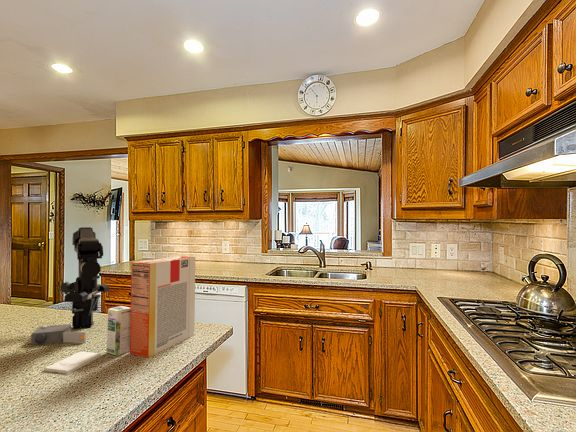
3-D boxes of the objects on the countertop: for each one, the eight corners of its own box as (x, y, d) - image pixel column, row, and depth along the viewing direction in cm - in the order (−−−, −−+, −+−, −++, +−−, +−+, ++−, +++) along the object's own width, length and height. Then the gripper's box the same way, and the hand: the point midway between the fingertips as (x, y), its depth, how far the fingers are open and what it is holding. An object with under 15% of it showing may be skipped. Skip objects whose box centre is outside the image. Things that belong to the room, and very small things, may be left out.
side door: (84, 342, 117) (84, 332, 117) (59, 342, 116) (59, 332, 116) (86, 341, 118) (86, 331, 118) (62, 341, 118) (62, 331, 118)
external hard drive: (100, 358, 105) (67, 376, 93) (79, 356, 107) (43, 373, 95) (100, 353, 105) (67, 370, 93) (79, 351, 107) (43, 367, 95)
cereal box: (177, 332, 130) (178, 256, 130) (194, 334, 126) (195, 257, 127) (129, 353, 108) (131, 262, 109) (148, 357, 105) (150, 263, 106)
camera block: (70, 334, 126) (71, 322, 126) (63, 342, 117) (63, 330, 117) (39, 337, 122) (39, 325, 122) (29, 346, 114) (29, 332, 114)
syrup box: (105, 353, 108) (106, 308, 109) (122, 347, 114) (122, 305, 114) (116, 356, 106) (117, 311, 106) (132, 350, 111) (133, 307, 111)
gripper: (81, 270, 131) (80, 309, 131) (48, 277, 113) (47, 323, 112) (109, 270, 132) (109, 309, 131) (81, 277, 113) (80, 323, 113)
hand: (87, 315), depth 122 cm, fingers closed
